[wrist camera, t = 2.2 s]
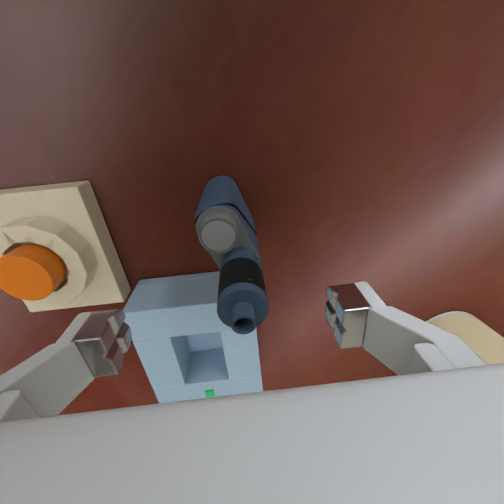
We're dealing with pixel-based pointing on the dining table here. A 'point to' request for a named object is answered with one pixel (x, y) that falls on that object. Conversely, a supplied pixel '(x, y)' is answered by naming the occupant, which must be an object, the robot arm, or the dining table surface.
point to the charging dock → (190, 340)
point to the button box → (65, 241)
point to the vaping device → (232, 254)
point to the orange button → (31, 272)
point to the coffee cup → (472, 334)
